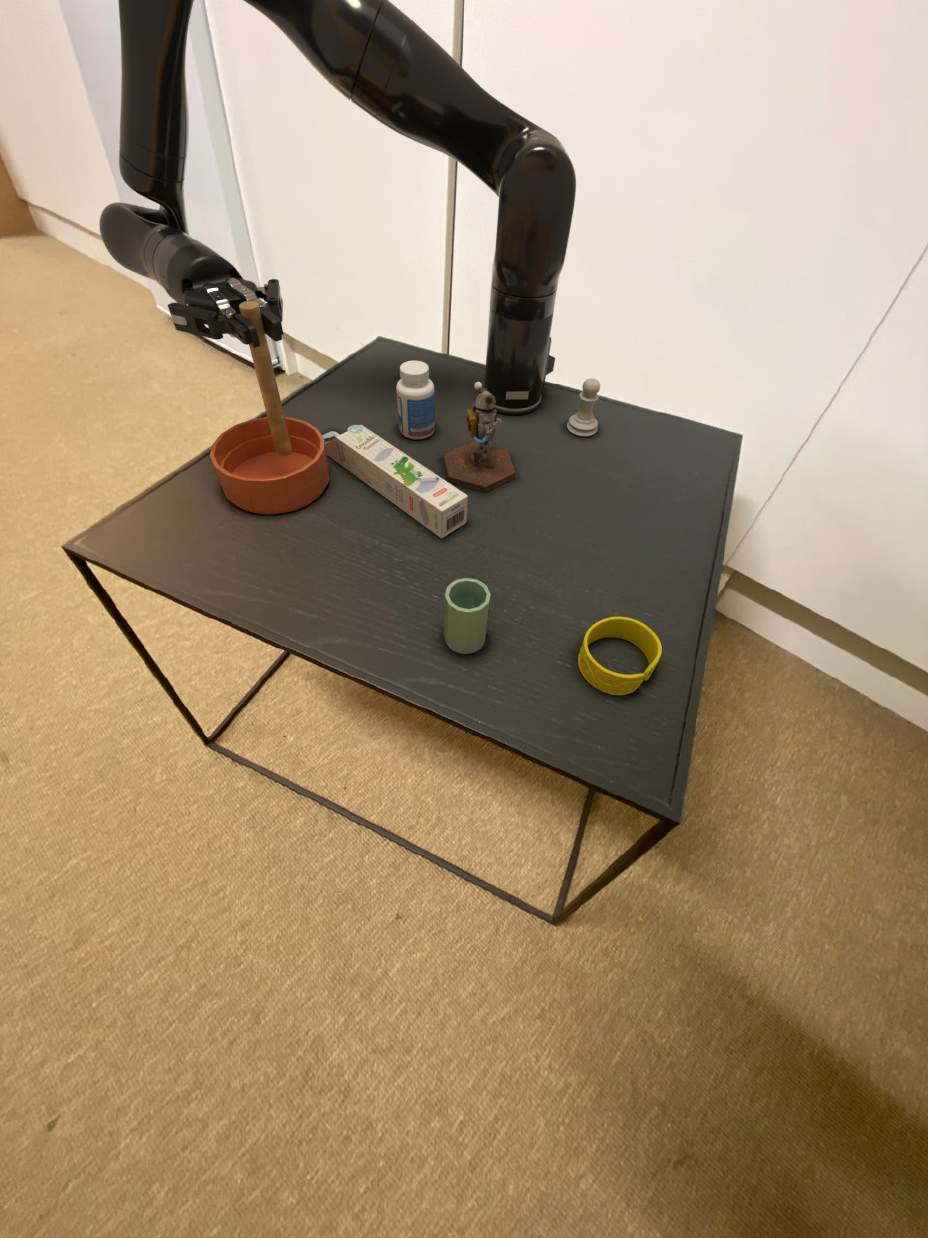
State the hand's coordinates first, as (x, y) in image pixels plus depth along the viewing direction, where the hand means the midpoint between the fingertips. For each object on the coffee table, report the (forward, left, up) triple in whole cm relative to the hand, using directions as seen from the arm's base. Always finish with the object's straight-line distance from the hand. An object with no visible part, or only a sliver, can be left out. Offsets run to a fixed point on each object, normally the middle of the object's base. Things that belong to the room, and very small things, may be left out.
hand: (266, 334), depth 60 cm
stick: (-1, -3, -16) cm, 16 cm away
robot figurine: (-20, +14, -21) cm, 32 cm away
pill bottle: (-21, +1, -21) cm, 29 cm away
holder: (+4, +32, -20) cm, 38 cm away
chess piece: (-39, +19, -21) cm, 48 cm away
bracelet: (-4, +46, -21) cm, 51 cm away
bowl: (+1, -4, -20) cm, 21 cm away
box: (-9, +6, -21) cm, 23 cm away
